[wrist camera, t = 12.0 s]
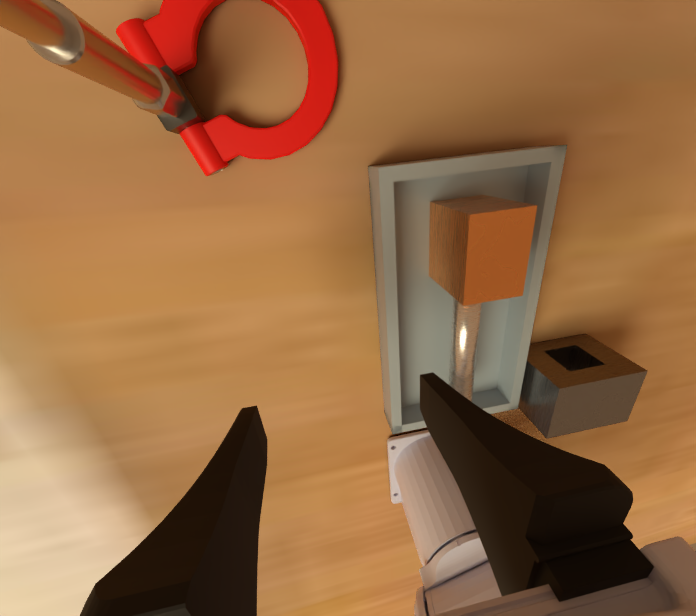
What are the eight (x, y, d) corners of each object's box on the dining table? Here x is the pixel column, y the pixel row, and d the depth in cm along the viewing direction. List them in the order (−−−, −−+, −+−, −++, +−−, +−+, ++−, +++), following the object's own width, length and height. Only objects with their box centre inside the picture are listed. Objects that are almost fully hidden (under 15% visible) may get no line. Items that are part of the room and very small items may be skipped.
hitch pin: (467, 378, 27) (502, 422, 22) (427, 386, 26) (454, 432, 22) (483, 194, 20) (537, 205, 16) (429, 201, 20) (469, 215, 15)
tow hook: (286, -77, 14) (108, 17, 14) (331, -1009, 3) (-536, -542, 3) (358, 119, 18) (217, 192, 18) (498, 47, 7) (120, 241, 7)
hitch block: (573, 378, 30) (627, 420, 25) (504, 392, 29) (546, 438, 24) (585, 333, 28) (647, 370, 23) (511, 347, 27) (559, 388, 22)
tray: (500, 389, 29) (517, 408, 27) (384, 412, 28) (392, 434, 26) (536, 146, 20) (567, 144, 18) (368, 166, 19) (378, 167, 17)
